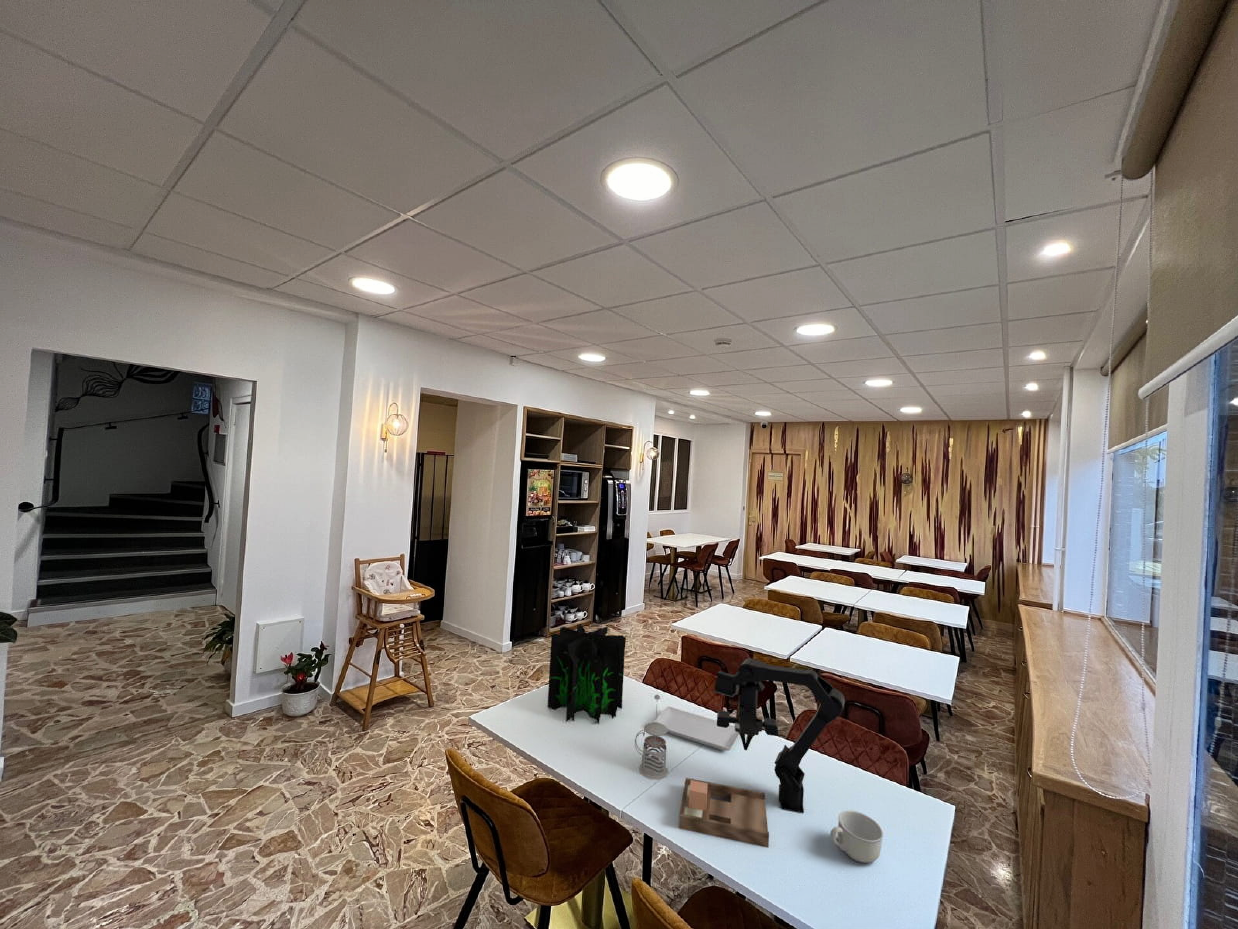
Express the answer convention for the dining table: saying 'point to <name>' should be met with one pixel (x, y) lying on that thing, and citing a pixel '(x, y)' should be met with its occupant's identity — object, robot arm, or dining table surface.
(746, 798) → the box
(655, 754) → the french press
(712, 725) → the tray
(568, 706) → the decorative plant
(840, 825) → the teacup
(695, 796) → the block
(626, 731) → the dining table surface
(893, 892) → the dining table surface
